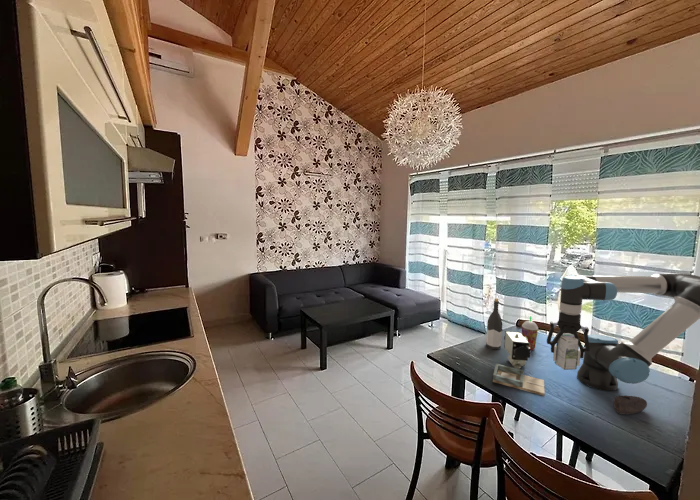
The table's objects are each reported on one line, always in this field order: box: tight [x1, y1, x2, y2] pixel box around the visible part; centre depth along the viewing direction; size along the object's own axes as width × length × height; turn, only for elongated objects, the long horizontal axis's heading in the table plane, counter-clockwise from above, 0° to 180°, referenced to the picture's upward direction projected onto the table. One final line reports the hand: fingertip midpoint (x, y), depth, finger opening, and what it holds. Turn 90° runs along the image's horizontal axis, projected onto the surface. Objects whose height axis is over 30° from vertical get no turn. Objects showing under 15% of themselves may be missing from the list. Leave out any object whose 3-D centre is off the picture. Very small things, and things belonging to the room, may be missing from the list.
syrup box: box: [554, 333, 581, 371], centre depth 131 cm, size 6×6×14 cm
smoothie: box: [521, 316, 539, 352], centre depth 177 cm, size 8×8×20 cm
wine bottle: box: [485, 297, 503, 350], centre depth 179 cm, size 8×8×30 cm
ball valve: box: [503, 330, 531, 370], centre depth 158 cm, size 18×8×18 cm, turn 168°
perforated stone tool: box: [612, 394, 648, 415], centre depth 122 cm, size 15×5×7 cm, turn 96°
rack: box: [492, 363, 546, 397], centre depth 143 cm, size 21×12×4 cm, turn 58°
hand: (565, 361), depth 132 cm, fingers closed on syrup box, 8 cm apart
